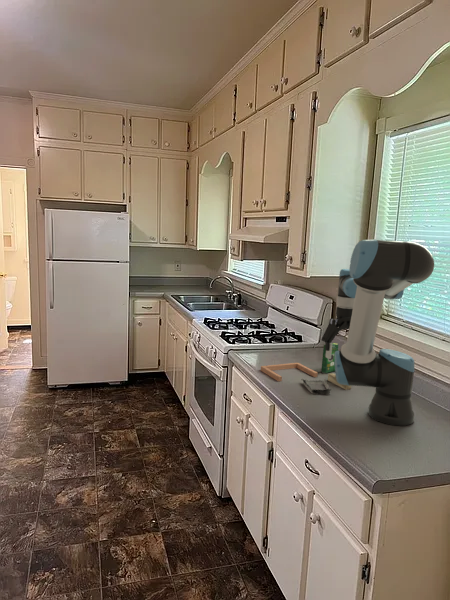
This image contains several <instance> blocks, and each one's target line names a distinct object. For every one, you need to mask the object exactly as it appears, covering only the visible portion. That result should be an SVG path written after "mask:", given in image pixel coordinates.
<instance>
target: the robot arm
mask: <svg viewBox="0 0 450 600" xmlns="http://www.w3.org/2000/svg"><path fill="white" fill-rule="evenodd" d="M434 268H435V259H434V257H433V254H432V253H431V252H430V251H429V250H428V249H427V248H426V247H425V246H424V245H422V244H420V243H417V242H414V241H404V240H401V241H400V240H385V239H384V240H383V239H381V240H379V239H375V238H374V239H373V238H372V239H362V240H360V241H358V242H357V243H356V245H354V248H353V250H352V254H351V258H350V264H349V268H343V269H340V271H339V275H338V290H337V299H336V309H335V316H336V318H329V322H328V325H327V327H326V329H325V331H324V333H323V335H322V337H321V341H322V342H324V344H325V350H326V356H325V357H326V358H328V359H331V353H332V341H333V340H334V339H335V338H336V337H337V335H338V334H339V332H341V331H342V330H348V334H347V338H346V339H347V340H346V342H345V343H343V344H342V345H341V347H340V349H341V351H339V350H340V349H338V351H336V352H335V371H334V374H335V375H336V380H337V382H338V383H339V384H342V385H348V386H350V385H351V387H352V386H354V387H355V386H356V387H367V388H375V392H374V395H373V397H372V399H371V402H370V404H369V405H368V411H367V415H368V417H371V418H372V419H373V420H375V421H378V422H380V423H383V424H386V425H392V426H400V427H401V426H409V425H411V424H412V425H413V423H414V422H415V421H414V420H415V412H414V410H413V404H412V390H413V381H414V373H415V359H414V358H413V357H412V356H411V355H409V354H408V353H404V352H401V351H398V350H394V349H389V348H380V350H379V352H378V353H377V352H376V351H375V349H374V343H375V340H376V337H377V330H378V327H379V322H380V317H381V312H382V308H383V304H384V301H385V300H384V299H386V300H388V299H389V300H400V299H401V298H402V297H403V295H404V292H405V290H406V289H407V288H408V287H411V286H412V285H413V284H421V283H422V282H424V281H426V280H427V279H429V277H431V275H432V274H433V272H434V270H435V269H434Z"/></svg>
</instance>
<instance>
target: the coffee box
mask: <svg viewBox="0 0 450 600" xmlns="http://www.w3.org/2000/svg"><path fill="white" fill-rule="evenodd" d="M331 343H332V342H331ZM338 350H339V343H337V342H333V343H332V353H331V359H328V358H326V357H325V356H326V350H325V343H324V344H323V350H322V351H323V352H322V359H321V360H322V361H321V369H320V370H321V371H320V372H321V373H323V374H330V373H331V372H332V373H334V372H335V352H336V351H338Z"/></svg>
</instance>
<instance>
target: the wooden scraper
mask: <svg viewBox="0 0 450 600" xmlns="http://www.w3.org/2000/svg"><path fill="white" fill-rule="evenodd" d="M338 350H339V351H341V348H340V349H338ZM327 381H328V382H331V384H333V385H335V386H338V387H339V388H342V389H343V390H345V391H348V390H351V389H352V386H351V385H350V386H348V385H342V384H339V383H338V382H337V380H336V374H335V373H334V372H332V373H331V372H330V373H327Z"/></svg>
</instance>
